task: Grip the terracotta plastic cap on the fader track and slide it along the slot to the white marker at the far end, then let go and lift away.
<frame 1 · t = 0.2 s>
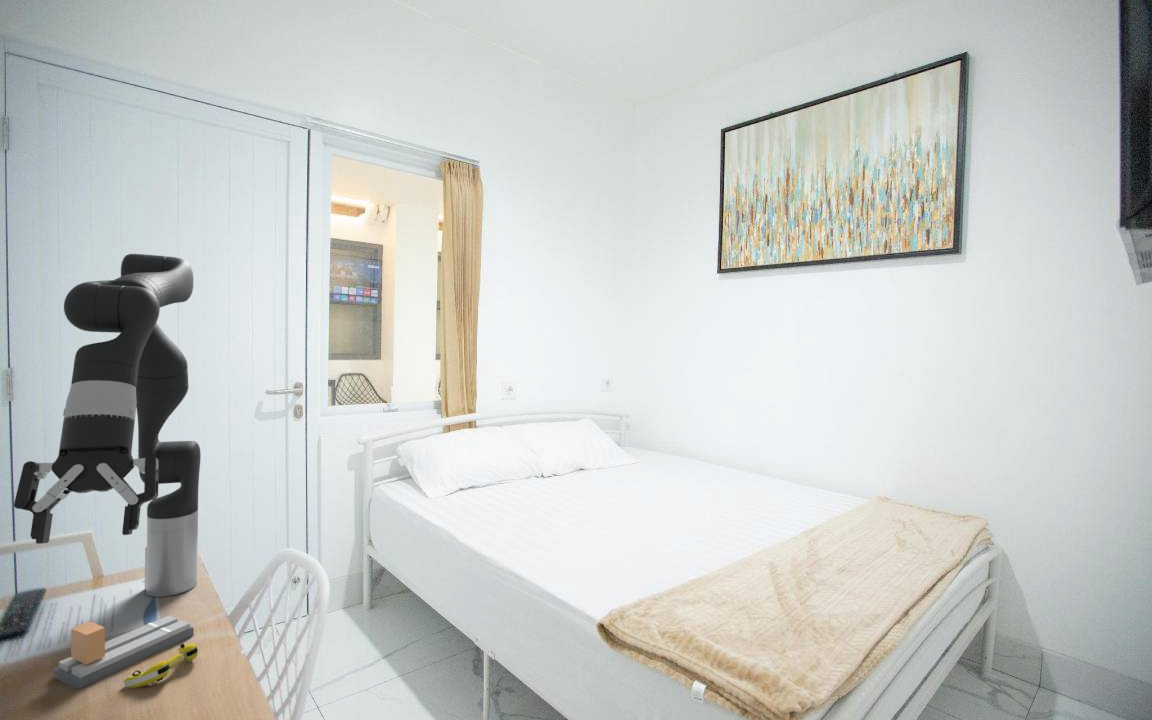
hand: (85, 538, 71), 31 cm above the table, tool tilted 20°, fingers open, 8 cm apart
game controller: (166, 674, 93), on the table
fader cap: (88, 645, 91), point 5 cm above the table, slide at 0.0 cm
fader track: (128, 654, 97), on the table
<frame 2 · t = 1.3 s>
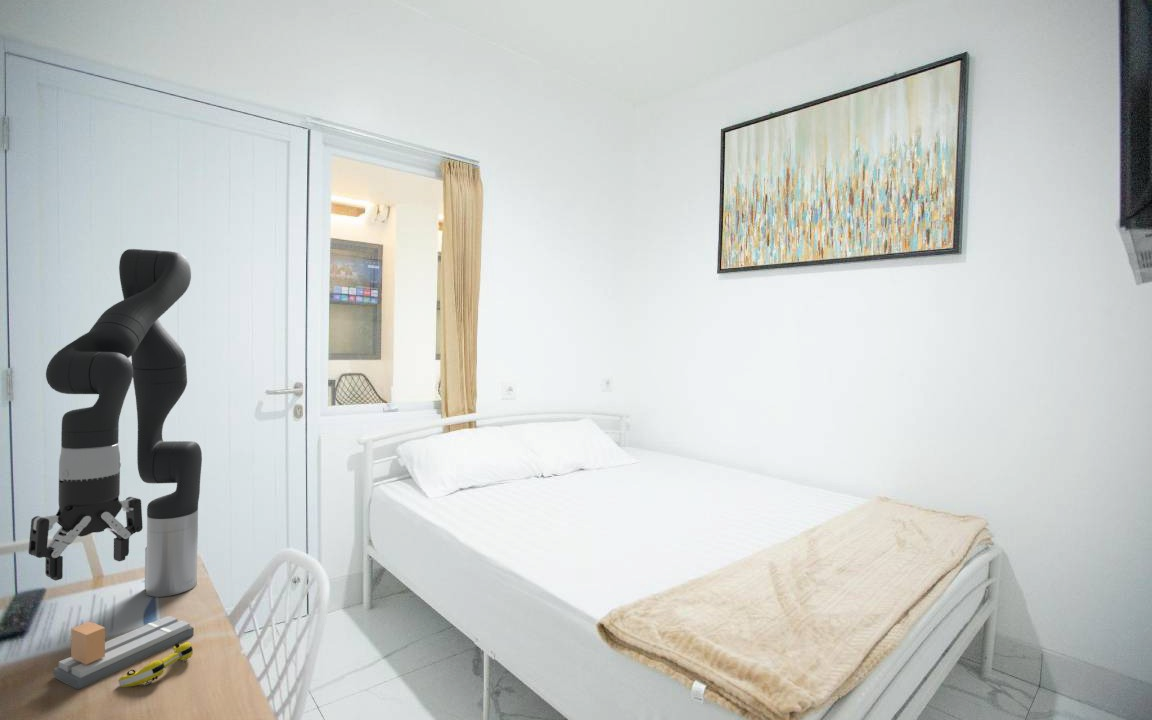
hand: (88, 569, 90), 18 cm above the table, tool pointing down, fingers open, 8 cm apart
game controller: (161, 673, 93), on the table
everything else where it was.
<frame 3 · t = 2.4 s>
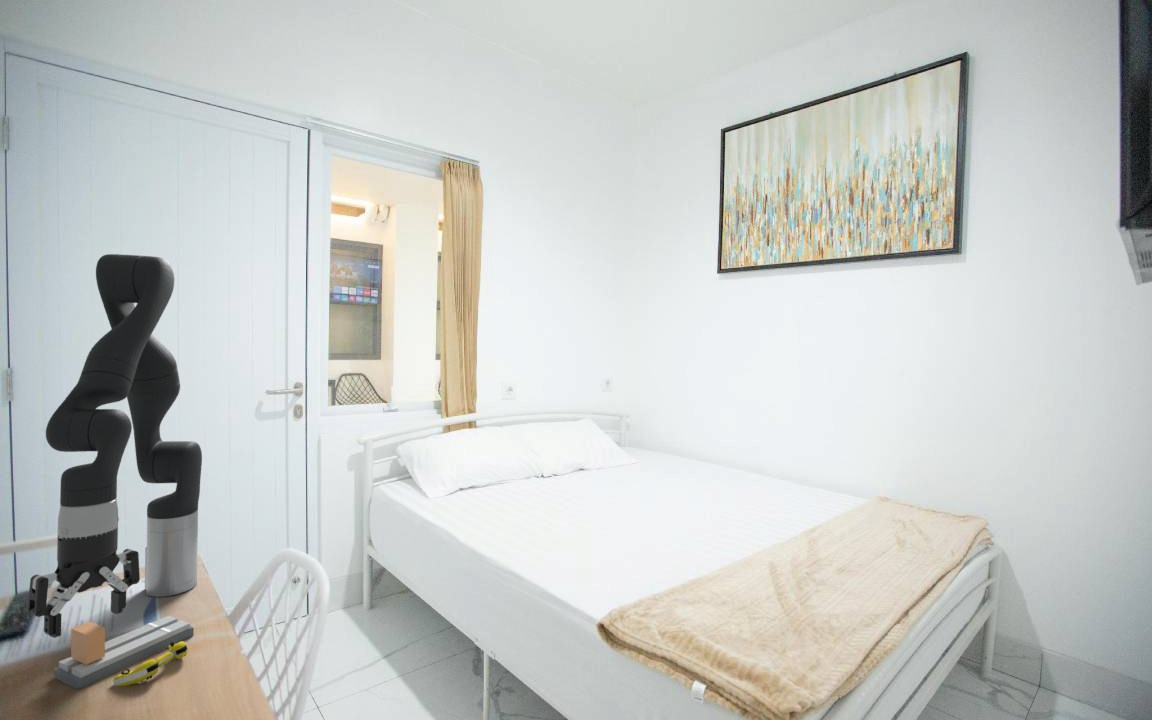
hand: (86, 623, 91), 9 cm above the table, tool pointing down, fingers open, 8 cm apart
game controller: (156, 672, 93), on the table
everything else where it was.
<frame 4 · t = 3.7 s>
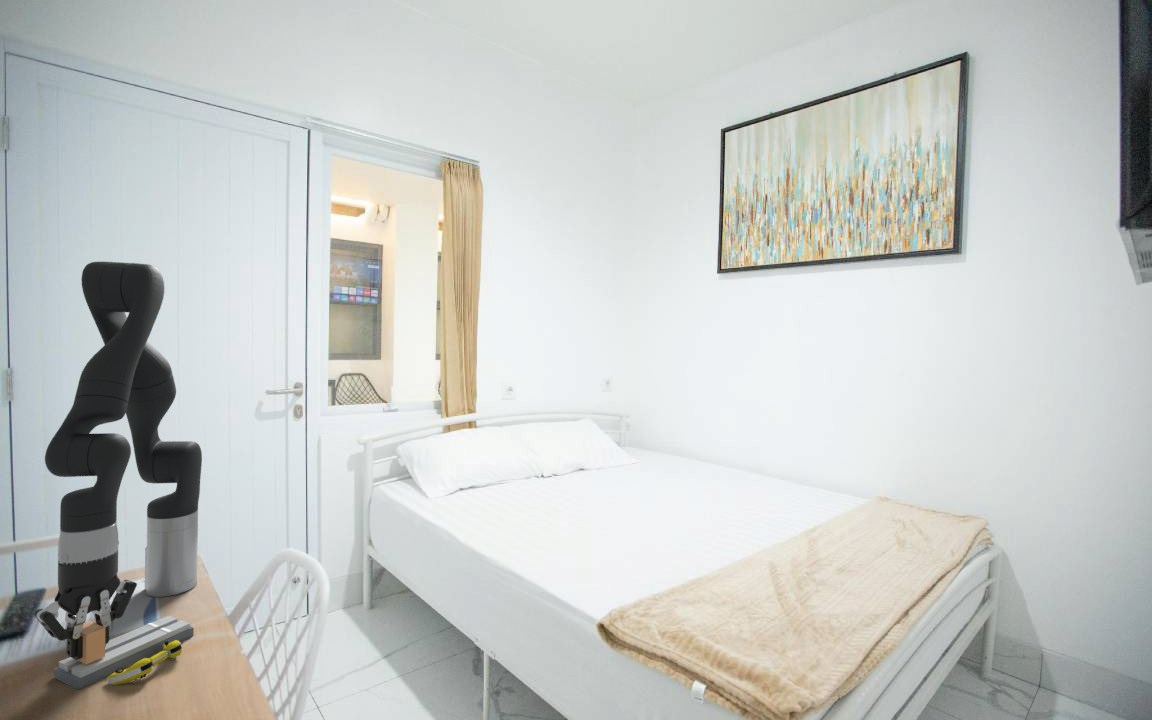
hand: (88, 652, 91), 4 cm above the table, tool pointing down, fingers closed on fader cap, 2 cm apart
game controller: (150, 671, 93), on the table
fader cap: (88, 645, 91), point 5 cm above the table, slide at 0.0 cm, touching gripper
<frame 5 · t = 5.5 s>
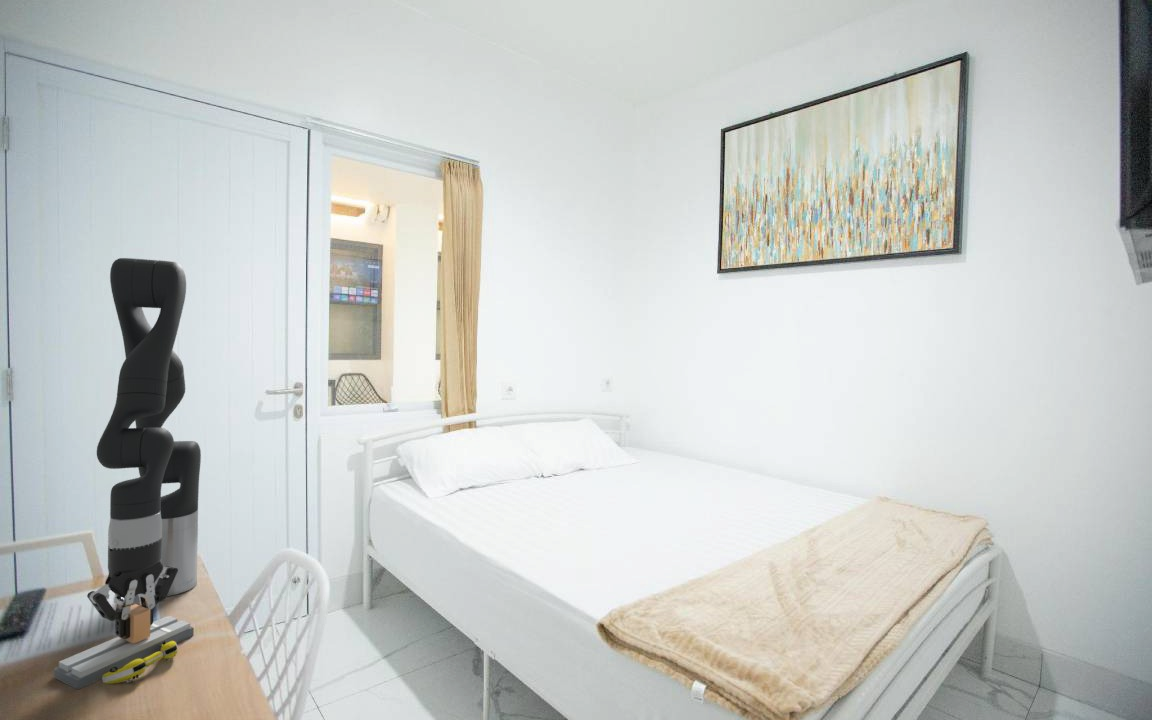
hand: (134, 632, 98), 4 cm above the table, tool pointing down, fingers closed on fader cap, 2 cm apart
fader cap: (134, 626, 98), point 5 cm above the table, slide at 6.9 cm, touching gripper
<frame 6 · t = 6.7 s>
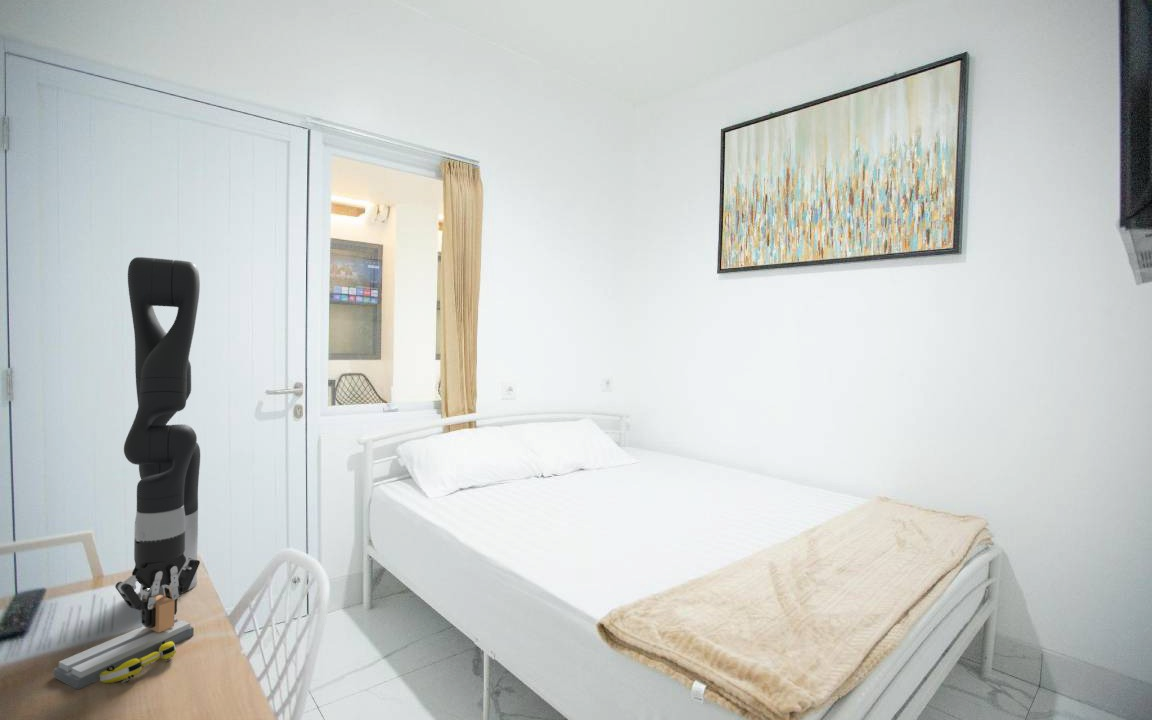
hand: (159, 622, 101), 4 cm above the table, tool pointing down, fingers closed on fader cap, 2 cm apart
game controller: (143, 671, 93), on the table, touching fader track
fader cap: (159, 616, 101), point 5 cm above the table, slide at 11.0 cm, touching gripper
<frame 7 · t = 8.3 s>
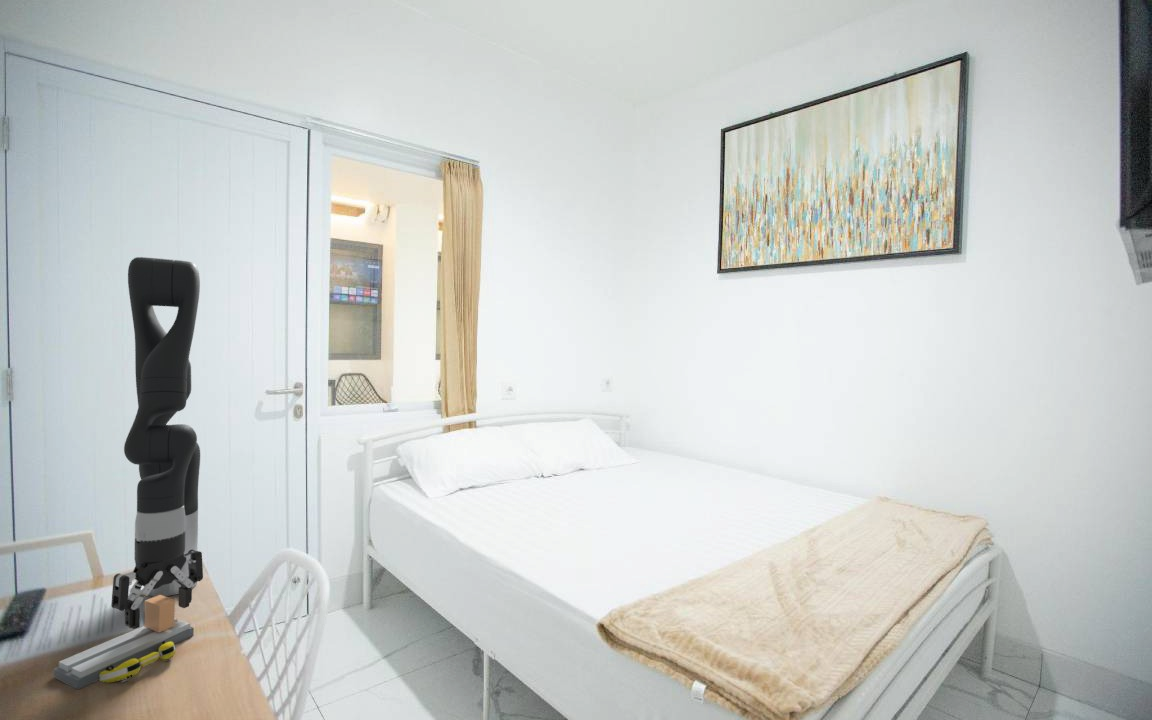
hand: (159, 616, 101), 5 cm above the table, tool pointing down, fingers open, 8 cm apart
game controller: (142, 671, 93), on the table
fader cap: (159, 616, 101), point 5 cm above the table, slide at 11.0 cm
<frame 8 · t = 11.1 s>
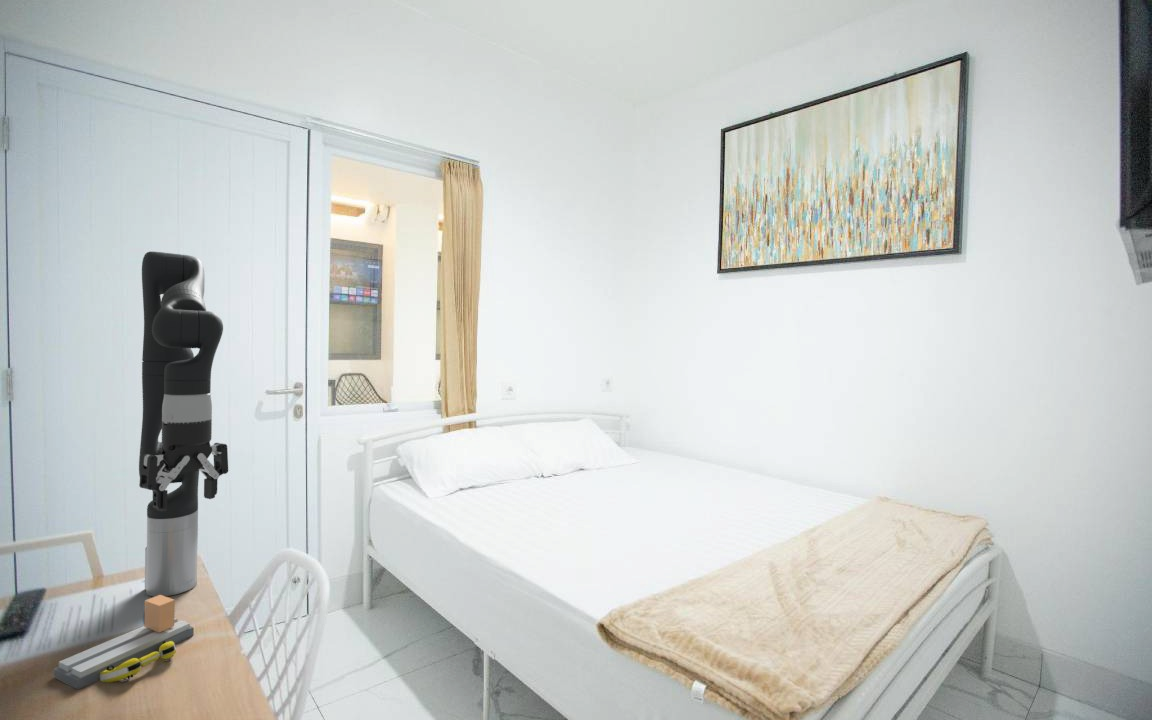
hand: (186, 504, 101), 26 cm above the table, tool pointing down, fingers open, 8 cm apart
nothing on the table moved.
at the end: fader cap slide at 11.0 cm; the gripper is holding nothing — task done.
